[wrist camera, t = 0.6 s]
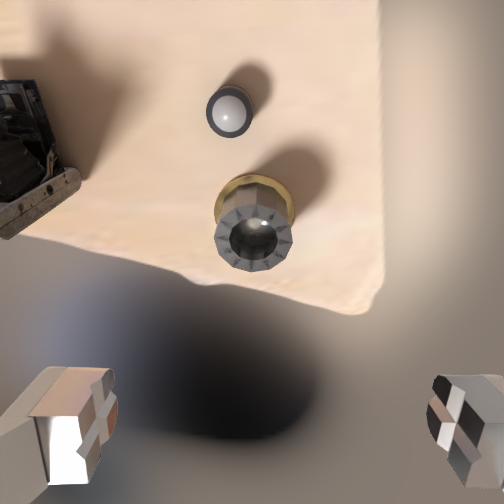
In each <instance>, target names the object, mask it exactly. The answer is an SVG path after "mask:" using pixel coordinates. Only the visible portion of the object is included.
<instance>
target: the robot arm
mask: <svg viewBox="0 0 504 504" xmlns="http://www.w3.org/2000/svg"><path fill="white" fill-rule="evenodd" d="M114 383H115V379H114V373H113V371H112V370H111V369H107V368H84V367H83V368H82V367H48V368H45V369H44V370H43V371H42V372H41V373H40V374H39V375H38V376H37V377H36V378H35V380H34V381H33V382H32V383H31V384H30V385H29V386H28V387H27V388H26V389H25V391H24V392H23V393H22V394H21V395H20V396H19V397H18V398H17V399H16V401H14V403H13V404H12V405H11V406H10V407H9V408H8V409H7V410H6V411H5V412H4V414H3V415H2V416H1V417H0V504H29V503H31V502H32V501H33V500H34V499H35V498H36V497H37V496H38V495H39V494H41V493H42V492H43V491H44V490H45V489H46V488H47V487H48V484H79V483H80V484H83V483H89V481H90V479H91V477H92V475H93V472H94V470H95V468H96V466H97V464H98V462H99V460H100V457H101V449H100V446H101V445H102V444H103V443H104V442H106V441H107V440H108V439H109V438H110V436H111V434H112V432H113V429H114V426H115V422H116V418H117V409H118V405H117V397H116V396H115V395H114V394H113V393H112V392H111V389H112V387H113V386H114ZM432 389H433V391H434V393H435V395H436V396H435V397H434V398H433V399H432V400H430V401H429V402H428V406H427V411H426V417H427V424H428V427H429V430H430V433H431V434H432V437H433V438H434V440H435V442H436V443H437V444H438V445H440V446H441V447H442V448H444V449H445V450H447V451H448V458H447V460H448V462H449V464H450V465H451V467H452V468H453V470H454V471H455V473H456V475H457V476H458V478H459V479H460V481H461V483H462V484H463V485H464V487H467V488H490V489H503V492H504V377H502V376H499V375H477V376H475V375H474V376H473V375H437V377H436V378H435V379H434V381H433V385H432Z"/></svg>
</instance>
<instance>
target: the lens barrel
mask: <svg viewBox="0 0 504 504" xmlns="http://www.w3.org/2000/svg"><path fill="white" fill-rule="evenodd" d="M214 216H215V221H216V224H217V227H216V231H215V235H214V240H215V243H216V246H217V250H218V253H219V255H220V256H221V257H222V258H223V259H224V260H225V261H227V262H228V263H229V264H230V265H231V266H232V267H234V268H238V269H241V270H245V271H248V272H256V271H263V270H269V269H271V268H273V267H274V266H276V265H277V264H279V263H280V262H281V261H283V260H284V259H285V258H286V256H287V254H288V252H289V250H290V248H291V246H292V243H293V241H292V235H291V226H292V224H293V220H294V205H293V201H292V198H291V196H290V194H289V192H288V191H287V190H286V188H285V187H284V186H283V185H282V184H281V183H279V182H278V181H276V180H275V179H273V178H270V177H268V176H264V175H258V174H251V175H244V176H241V177H238V178H236V179H234V180H232V181H231V182H229V183H228V184H227V185H226V186H225V187H224V188H223V189H222V190H221V192H220V193H219V195H218V197H217V200H216V203H215V209H214Z"/></svg>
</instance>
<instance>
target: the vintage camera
mask: <svg viewBox="0 0 504 504" xmlns="http://www.w3.org/2000/svg"><path fill="white" fill-rule="evenodd" d="M81 181H82V178H81V175H80V172H79V171H78V170H77V169H76V168H72V167H63V163H62V160H61V157H60V154H59V152H58V149H57V145H56V140H55V137H54V134H53V131H52V129H51V126H50V123H49V120H48V117H47V114H46V111H45V108H44V105H43V102H42V99H41V96H40V93H39V90H38V87H37V85H36V82H35V80H0V240H9V239H10V238H12V237H13V236H15V235H16V234H18V233H19V232H21V231H22V230H24V229H25V228H27V227H28V226H29V225H31V224H32V223H34V222H35V221H37V220H38V219H40V218H41V217H42V216H44V215H45V214H47V213H48V212H49V211H51V210H52V209H53V208H55V207H56V206H58V205H59V204H60V203H62V202H63V201H64V200H66V199H67V198H68V197H70V196H72V195H73V194H74V193H75V192H77V191H78V190H79V189H80V187H81Z"/></svg>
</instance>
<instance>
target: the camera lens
mask: <svg viewBox="0 0 504 504" xmlns="http://www.w3.org/2000/svg"><path fill="white" fill-rule="evenodd" d="M252 115H253V104H252V101H251V98H250V96H249V95H248V94H247V92H246V91H244V90H243V89H242V88H240V87H238V86H234V85H228V86H224V87H222V88H220V89H218V90H217V91H216V92H215V93H214V94H213V96H212V97H211V98H210V100H209V102H208V104H207V108H206V116H207V120H208V123H209V125H210V127H211V128H212V129H213V131H214V132H216V133H217V134H218V135H220V136H222V137H226V138H235V137H238V136H240V135H242V134H243V133H245V132H246V130H247V129H248V128H249V126H250V124H251V121H252Z"/></svg>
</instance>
